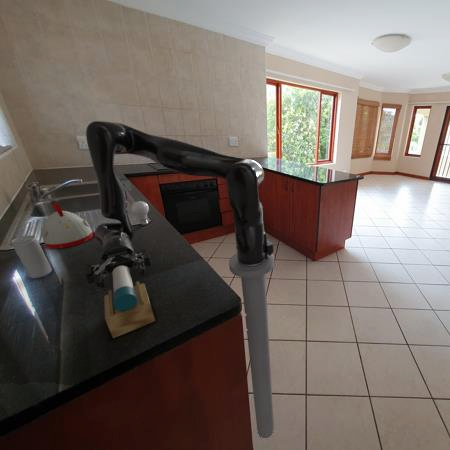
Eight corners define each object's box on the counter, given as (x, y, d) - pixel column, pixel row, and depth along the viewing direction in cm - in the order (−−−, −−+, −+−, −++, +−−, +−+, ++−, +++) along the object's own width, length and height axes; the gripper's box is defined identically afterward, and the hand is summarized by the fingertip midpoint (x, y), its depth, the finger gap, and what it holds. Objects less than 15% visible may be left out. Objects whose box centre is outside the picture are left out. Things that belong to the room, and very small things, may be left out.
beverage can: (53, 268, 74) (37, 233, 70) (51, 275, 71) (33, 239, 66) (32, 273, 72) (13, 238, 67) (28, 281, 68) (8, 244, 64)
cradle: (149, 300, 62) (143, 279, 59) (155, 321, 55) (148, 299, 53) (111, 313, 57) (102, 292, 55) (113, 338, 51) (103, 315, 48)
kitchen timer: (49, 252, 83) (31, 212, 77) (42, 241, 91) (24, 204, 85) (98, 238, 94) (85, 202, 88) (87, 229, 101) (75, 195, 95)
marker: (114, 281, 61) (109, 268, 59) (132, 275, 63) (128, 262, 61) (116, 314, 50) (110, 298, 48) (139, 306, 52) (134, 291, 50)
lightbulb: (141, 228, 103) (134, 204, 98) (133, 225, 105) (126, 202, 101) (155, 223, 108) (150, 200, 103) (147, 221, 110) (141, 198, 106)
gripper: (81, 247, 64) (77, 276, 52) (143, 234, 72) (151, 256, 60) (91, 270, 67) (89, 302, 55) (149, 255, 75) (158, 280, 63)
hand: (122, 278), depth 58 cm, fingers open, 7 cm apart
